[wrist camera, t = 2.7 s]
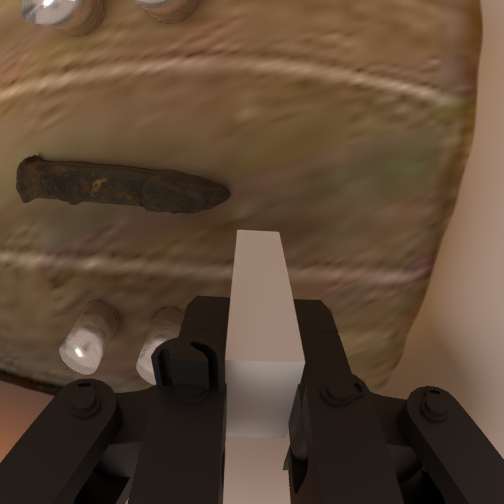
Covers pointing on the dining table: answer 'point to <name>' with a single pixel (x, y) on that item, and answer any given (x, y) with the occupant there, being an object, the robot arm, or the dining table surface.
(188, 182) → the hand tool
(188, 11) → the cylinder
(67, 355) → the spacer
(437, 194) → the dining table surface
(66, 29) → the cylinder
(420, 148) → the dining table surface
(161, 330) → the cylinder
